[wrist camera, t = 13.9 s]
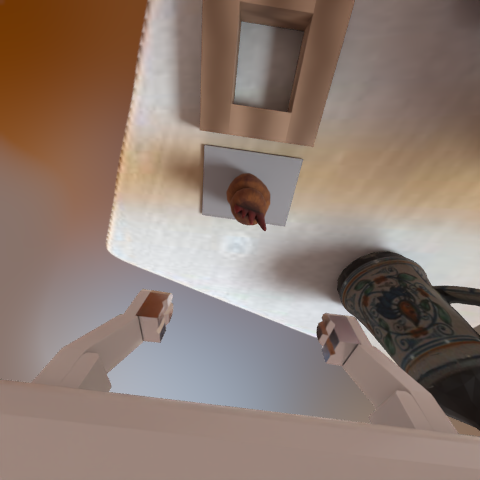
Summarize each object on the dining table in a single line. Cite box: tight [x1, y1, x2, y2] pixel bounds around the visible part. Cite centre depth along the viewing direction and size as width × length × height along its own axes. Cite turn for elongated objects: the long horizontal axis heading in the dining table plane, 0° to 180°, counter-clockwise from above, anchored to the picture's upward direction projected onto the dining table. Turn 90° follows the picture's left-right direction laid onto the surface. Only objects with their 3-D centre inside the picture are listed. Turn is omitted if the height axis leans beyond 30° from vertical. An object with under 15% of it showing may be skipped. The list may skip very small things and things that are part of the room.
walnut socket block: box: [200, 0, 355, 147], centre depth 24 cm, size 16×16×4 cm
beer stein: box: [337, 252, 480, 430], centre depth 31 cm, size 16×19×25 cm
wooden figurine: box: [226, 173, 270, 231], centre depth 27 cm, size 7×6×15 cm
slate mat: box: [202, 145, 303, 226], centre depth 33 cm, size 16×12×1 cm
